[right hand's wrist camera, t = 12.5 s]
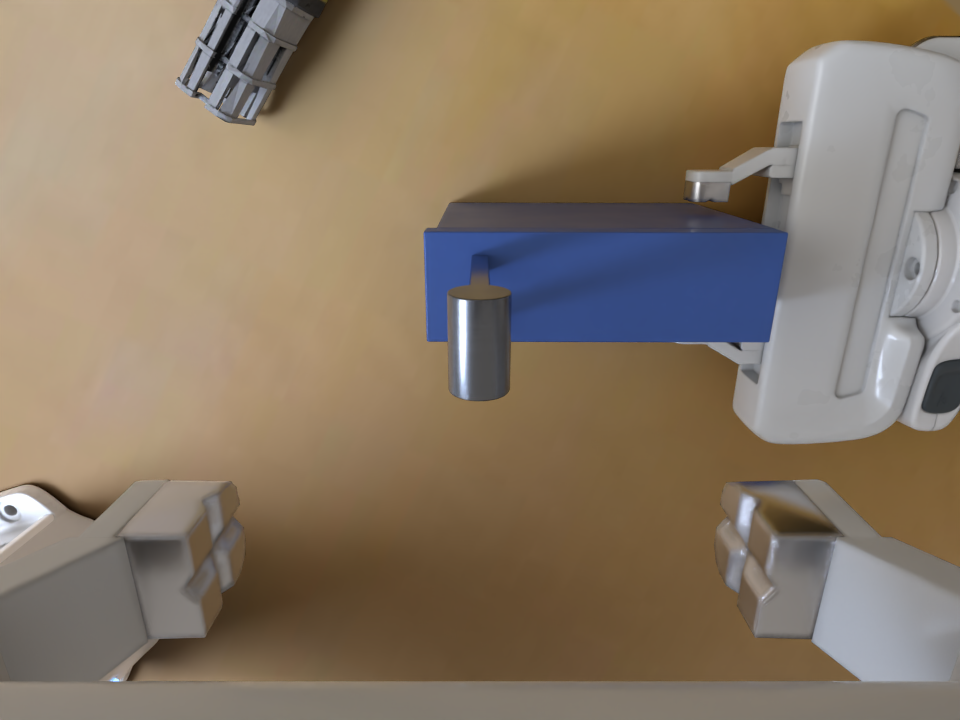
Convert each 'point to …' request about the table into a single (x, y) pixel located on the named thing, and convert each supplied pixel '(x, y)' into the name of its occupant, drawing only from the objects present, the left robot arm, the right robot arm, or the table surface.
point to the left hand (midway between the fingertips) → (679, 258)
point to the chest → (590, 216)
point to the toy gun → (245, 53)
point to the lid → (592, 291)
